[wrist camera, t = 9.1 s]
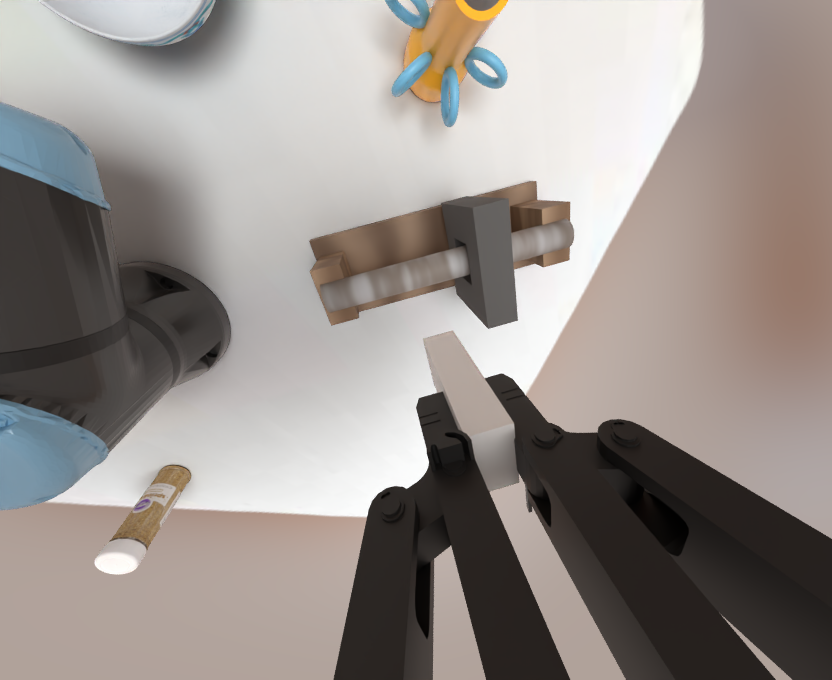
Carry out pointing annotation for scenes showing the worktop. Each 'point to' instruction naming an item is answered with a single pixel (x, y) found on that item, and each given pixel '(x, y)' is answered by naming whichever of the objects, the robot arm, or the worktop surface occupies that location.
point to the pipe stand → (427, 253)
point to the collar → (484, 256)
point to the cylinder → (447, 50)
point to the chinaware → (135, 18)
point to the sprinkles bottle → (143, 522)
